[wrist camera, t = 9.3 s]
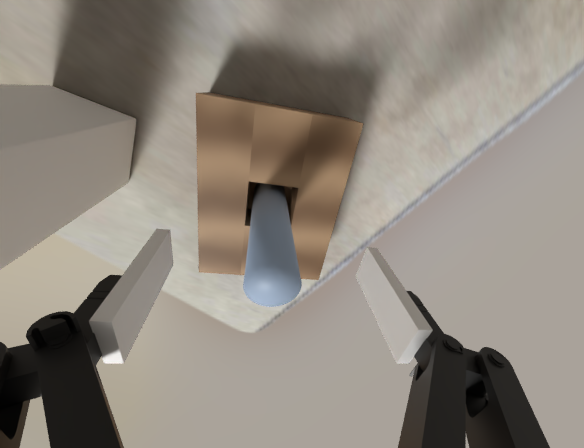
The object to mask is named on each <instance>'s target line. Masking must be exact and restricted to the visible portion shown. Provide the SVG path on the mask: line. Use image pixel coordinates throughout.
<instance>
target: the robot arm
mask: <svg viewBox="0 0 584 448" xmlns="http://www.w3.org/2000/svg"><path fill="white" fill-rule="evenodd" d="M172 266H173V255H172V244H171V233H170V230H165V229H156V231H155V232H154V233H153V235H152V236H151V237H150V239H149V240H148V241H147V243H146V244H145V246H144V247H143V248H142V250H141V251H140V252H139V254H138V255H137V256H136V258H135V259H134V260H133V262H132V263H131V265H130V266H129V267H128V269H127V270H126V271H125V273H124V274H123V275H122V276H120V275H109V276H108V277H106V278H105V279H103V280H102V281H100V282H99V283H98V285H97V286H96V287H95V288H94V290H93V292H91V293H90V294H89V296H88V297H87V299H85V300H84V302H83V303H82V304H81V305H80V307H79V308H78V309H77V310H76V311H75V312H74V314H73V313H71V312H67V311H65V312H56V313H52V314H49V315H47V316H45V317H43V318H41V319H39V320H38V321H36V322H35V323H34V324H32V325H31V327H30V328H29V329H28V331H27V334H26V338H27V339H28V341H29V343H30V344H26V345H21V346H16V347H12V348H7V347H6V346H5V345H4V344H3V343H2V342H0V448H19V447H20V442H21V438H22V434H23V429H24V425H25V420H26V416H27V412H28V407H29V403H30V399H33V398H37V397H40V396H42V399H43V405H44V411H45V417H46V423H47V428H48V435H49V441H50V447H51V448H124V447H123V444H122V441H121V438H120V435H119V432H118V429H117V426H116V423H115V420H114V417H113V414H112V412H111V409H110V406H109V403H108V400H107V397H106V394H105V391H104V389H103V385H102V382H101V379H100V377H99V374H98V371H97V368H96V364H97V362H98V361H99V359H100V357H101V356H102V358H103V361H104V363H124V362H125V360H126V358H127V356H128V354H129V352H130V350H131V348H132V346H133V344H134V342H135V340H136V338H137V336H138V334H139V332H140V330H141V328H142V326H143V324H144V322H145V320H146V318H147V316H148V314H149V312H150V310H151V308H152V306H153V304H154V302H155V300H156V298H157V296H158V294H159V292H160V290H161V288H162V286H163V284H164V282H165V280H166V278H167V276H168V274H169V272H170V270H171V268H172ZM356 278H357V280H358V282H359V285H360V287H361V289H362V291H363V293H364V295H365V297H366V300H367V301H368V304H369V306H370V308H371V310H372V312H373V315H374V316H375V319H376V321H377V323H378V325H379V327H380V329H381V331H382V334H383V336H384V338H385V340H386V342H387V344H388V346H389V349H390V351H391V353H392V355H393V357H394V359H395V361H396V363H410V362H411V360H412V359H413V358H414V357H415V358H416V360H417V362H418V364H417V365H416V366H415V368H414V369H413V370H412V372H411V373H410V376H412V375H413V374H414V375H413V381H412V385H411V389H410V394H409V400H408V403H407V408H406V413H405V418H404V422H403V427H402V431H401V436H400V441H399V445H398V448H465V437H466V435H465V434H467V439H468V443H469V448H550V447H549V445H548V443H547V440H546V438H545V436H544V434H543V432H542V430H541V428H540V426H539V423H538V421H537V419H536V417H535V415H534V413H533V410H532V408H531V406H530V404H529V402H528V400H527V398H526V395H525V393H524V391H523V389H522V387H521V385H520V383H519V380H518V378H517V376H516V374H515V372H514V369H513V367H512V365H511V364H510V362H509V361H508V360H507V359H506V358H505V357H504V356H503V355H502V354H500V353H499V352H497V351H496V350H494V349H492V348H488V347H484V348H482V349H481V350H480V352H475V351H472V350H469V349H466V348H463V346H462V345H461V344H460V343H459V342H458V341H457V340H456V339H454V338H453V337H451V336H449V335H446V334H444V333H443V332H442V330H441V329H440V328H439V326H438V325H437V323H436V322H435V321H434V319H433V318H432V316H431V315H430V314H429V312H428V311H427V309H426V308H425V307H424V306H423V304H422V302H421V301H420V299H419V298H418V297H417V296H416V295H414V294H413V293H412V292H411V291H406V290H405V289H404V287H403V286H402V284H401V283H400V281H399V280H398V278H397V277H396V275H395V274H394V272H393V271H392V269H391V268H390V266H389V265H388V263H387V262H386V261H385V259H384V258H383V256H382V255H381V253H380V252H379V250H378V249H377V248H370V247H367V249H366V252H365V254H364V257H363V260H362V262H361V264H360V267H359V269H358V272H357V274H356Z"/></svg>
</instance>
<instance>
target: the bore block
mask: <svg viewBox="0 0 584 448" xmlns="http://www.w3.org/2000/svg"><path fill="white" fill-rule="evenodd" d="M196 125H197V184H198V243H199V272H204V273H219V274H235V275H245V267H246V258H247V249H248V240H249V232H250V223H251V214H252V205H253V196H254V189H255V186H256V185H257V183H265V184H273V185H281V186H283V187H284V190H285V195H286V201H287V206H288V212H289V217H290V223H291V228H292V233H293V239H294V244H295V250H296V255H297V261H298V266H299V272H300V277H301V279H313V280H319V276H320V273H321V269H322V266H323V262H324V259H325V255H326V252H327V249H328V245H329V242H330V238H331V235H332V231H333V228H334V224H335V221H336V217H337V214H338V210H339V207H340V204H341V200H342V197H343V193H344V190H345V186H346V183H347V179H348V176H349V172H350V169H351V165H352V162H353V158H354V155H355V152H356V148H357V145H358V141H359V138H360V134H361V131H362V127H363V123H360V122H357V121H355V120H352V119H349V118H345V117H340V116H334V115H329V114H323V113H318V112H313V111H307V110H302V109H296V108H291V107H285V106H280V105H275V104H269V103H264V102H258V101H253V100H247V99H242V98H237V97H231V96H226V95H220V94H215V93H209V92H207V93H196Z"/></svg>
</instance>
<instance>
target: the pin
mask: <svg viewBox="0 0 584 448" xmlns="http://www.w3.org/2000/svg"><path fill="white" fill-rule="evenodd" d="M243 288H244V292H245V294H246V296H247V297H248V298H249V299H250V300H251V301H253V302H254V303H256V304H259V305H262V306H269V307H273V306H280V305H284V304H286V303H288V302H290V301H292V300H293V299H294V298H295V297H296V296H297V295H298V294H299V292H300V289H301V277H300V272H299V266H298V261H297V255H296V250H295V244H294V239H293V233H292V228H291V223H290V217H289V212H288V206H287V201H286V195H285V190H284V187H283V186H281V185H273V184H265V183H257V185H256V186H255V189H254V196H253V205H252V214H251V223H250V232H249V240H248V249H247V258H246V267H245V276H244V284H243Z"/></svg>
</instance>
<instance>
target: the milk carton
mask: <svg viewBox="0 0 584 448" xmlns="http://www.w3.org/2000/svg"><path fill="white" fill-rule="evenodd" d="M135 129H136V119H135V118H133V117H131V116H128V115H126V114H123V113H120V112H118V111H115V110H113V109H110V108H108V107H105V106H102V105H100V104H97V103H95V102H92V101H90V100H87V99H84V98H82V97H79V96H77V95H74V94H72V93H69V92H66V91H64V90H61V89H59V88H56V87H54V86H50V85H6V84H0V269H2V268H3V267H5V266H6V265H8V264H9V263H11V262H12V261H13V260H15V259H17V258H18V257H20V256H21V255H22V254H23V253H25V252H27V251H28V250H30V249H31V248H33V247H34V246H36V245H37V244H39V243H40V242H41V241H43V240H44V239H46V238H47V237H49V236H50V235H52V234H53V233H55V232H56V231H58V230H59V229H61V228H62V227H64V226H65V225H67V224H68V223H70V222H71V221H73V220H74V219H76V218H77V217H78V216H80V215H81V214H83V213H84V212H86V211H87V210H89V209H90V208H92V207H93V206H95V205H96V204H98V203H99V202H101V201H102V200H104V199H105V198H106V197H108V196H109V195H111V194H112V193H114V192H115V191H117V190H118V189H120V188H121V187H123V186H124V185H126V184H127V183H128V182H129V176H130V168H131V160H132V152H133V145H134V137H135Z"/></svg>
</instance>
